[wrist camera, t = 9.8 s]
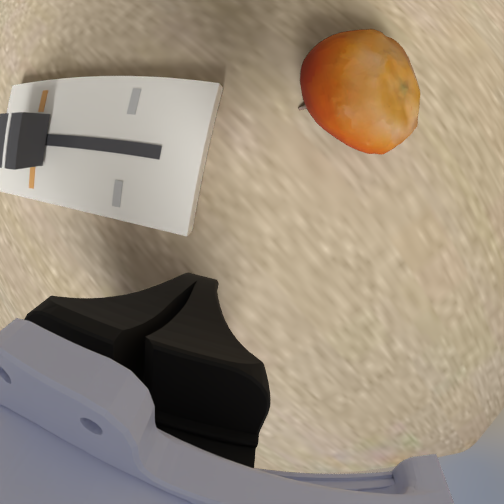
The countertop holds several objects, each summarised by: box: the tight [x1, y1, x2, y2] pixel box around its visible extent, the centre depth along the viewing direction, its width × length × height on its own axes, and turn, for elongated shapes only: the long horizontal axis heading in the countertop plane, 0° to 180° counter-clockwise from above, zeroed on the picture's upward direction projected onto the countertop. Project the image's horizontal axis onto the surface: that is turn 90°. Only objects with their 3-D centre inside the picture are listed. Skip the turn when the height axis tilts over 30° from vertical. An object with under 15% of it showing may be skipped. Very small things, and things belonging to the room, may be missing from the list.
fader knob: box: [0, 112, 50, 170], centre depth 17 cm, size 4×4×4 cm
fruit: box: [299, 29, 420, 154], centre depth 15 cm, size 8×8×8 cm
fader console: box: [0, 76, 223, 236], centre depth 19 cm, size 22×11×2 cm, turn 77°
